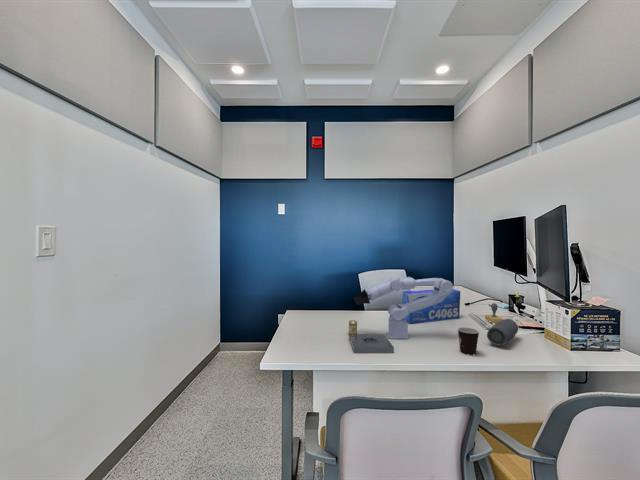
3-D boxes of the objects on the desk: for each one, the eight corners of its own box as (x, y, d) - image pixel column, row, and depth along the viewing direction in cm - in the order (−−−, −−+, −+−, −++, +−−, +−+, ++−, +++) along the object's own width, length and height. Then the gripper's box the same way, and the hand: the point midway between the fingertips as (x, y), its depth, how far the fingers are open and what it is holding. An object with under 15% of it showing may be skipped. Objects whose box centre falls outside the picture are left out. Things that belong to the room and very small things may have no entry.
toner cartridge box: (410, 324, 178) (410, 293, 177) (401, 320, 185) (402, 291, 185) (460, 318, 191) (460, 290, 191) (450, 315, 199) (450, 287, 199)
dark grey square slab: (384, 339, 152) (384, 334, 152) (393, 352, 134) (393, 347, 134) (348, 339, 151) (348, 334, 151) (353, 353, 133) (353, 347, 133)
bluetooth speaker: (498, 334, 161) (499, 316, 161) (519, 339, 154) (519, 319, 154) (485, 345, 145) (485, 324, 145) (507, 350, 138) (507, 329, 138)
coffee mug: (477, 357, 130) (478, 334, 130) (456, 353, 134) (456, 331, 134) (479, 349, 140) (480, 327, 139) (459, 345, 144) (459, 324, 144)
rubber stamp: (503, 325, 178) (504, 305, 178) (494, 325, 178) (494, 305, 178) (493, 320, 188) (494, 301, 188) (484, 320, 188) (485, 301, 188)
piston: (356, 333, 161) (356, 320, 161) (357, 335, 156) (357, 322, 156) (348, 333, 161) (348, 320, 161) (349, 335, 156) (349, 322, 156)
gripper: (375, 287, 164) (353, 297, 164) (375, 280, 151) (350, 291, 151) (381, 299, 161) (358, 309, 161) (381, 293, 148) (356, 304, 148)
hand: (354, 301), depth 156 cm, fingers open, 7 cm apart
